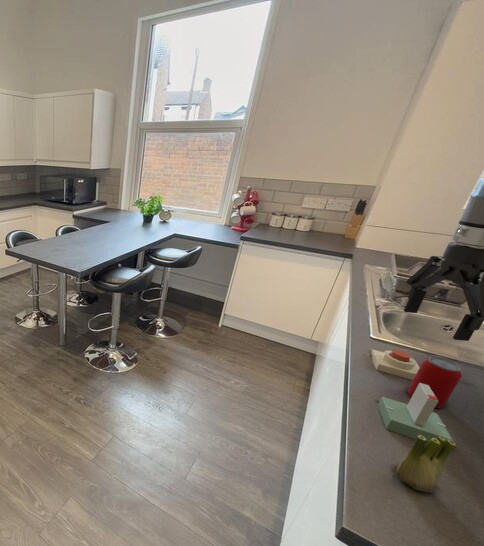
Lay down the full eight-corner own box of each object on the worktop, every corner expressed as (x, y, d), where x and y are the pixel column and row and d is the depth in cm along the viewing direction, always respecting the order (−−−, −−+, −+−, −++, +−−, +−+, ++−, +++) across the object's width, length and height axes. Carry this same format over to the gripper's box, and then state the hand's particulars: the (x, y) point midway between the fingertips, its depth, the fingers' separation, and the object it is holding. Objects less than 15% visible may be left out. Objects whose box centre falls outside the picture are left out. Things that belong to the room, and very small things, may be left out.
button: (406, 357, 94) (408, 352, 94) (410, 364, 91) (412, 359, 91) (388, 352, 96) (390, 348, 96) (392, 359, 93) (394, 354, 93)
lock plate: (432, 422, 76) (438, 413, 74) (447, 450, 69) (454, 440, 67) (376, 405, 81) (381, 395, 79) (385, 429, 74) (390, 419, 72)
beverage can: (445, 403, 82) (467, 366, 77) (440, 414, 78) (462, 375, 74) (409, 387, 87) (428, 352, 83) (403, 397, 83) (422, 360, 79)
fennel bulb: (392, 481, 62) (418, 437, 57) (390, 464, 65) (414, 421, 61) (435, 501, 58) (466, 456, 54) (429, 481, 62) (458, 438, 57)
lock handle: (406, 406, 76) (419, 381, 73) (415, 409, 75) (429, 384, 73) (414, 423, 72) (428, 397, 69) (423, 426, 71) (439, 400, 68)
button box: (412, 366, 96) (417, 355, 95) (422, 382, 89) (428, 371, 88) (369, 355, 101) (374, 344, 100) (376, 369, 94) (381, 359, 93)
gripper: (408, 231, 83) (378, 301, 91) (520, 261, 60) (467, 352, 68) (440, 232, 82) (407, 303, 90) (565, 263, 59) (506, 355, 67)
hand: (433, 324), depth 79 cm, fingers open, 13 cm apart
